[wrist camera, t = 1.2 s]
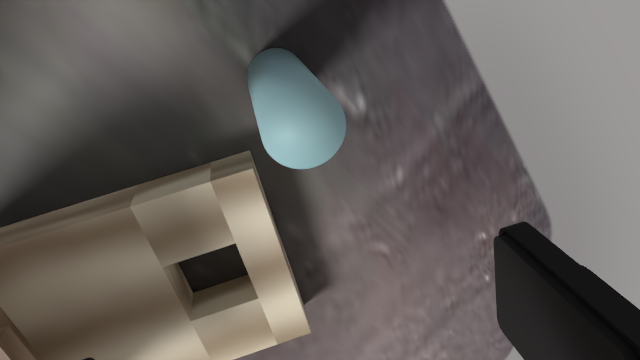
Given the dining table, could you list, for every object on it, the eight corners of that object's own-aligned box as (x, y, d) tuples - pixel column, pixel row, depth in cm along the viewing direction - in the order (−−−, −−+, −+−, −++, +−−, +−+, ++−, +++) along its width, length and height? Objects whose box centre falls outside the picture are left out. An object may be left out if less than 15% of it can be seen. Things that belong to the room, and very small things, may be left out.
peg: (238, 57, 26) (248, 100, 17) (296, 40, 26) (335, 74, 17) (257, 113, 28) (274, 179, 19) (311, 97, 28) (353, 154, 19)
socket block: (-29, 236, 27) (-188, 405, 17) (249, 150, 29) (267, 255, 18) (81, 381, 34) (17, 569, 23) (304, 305, 35) (340, 450, 24)
